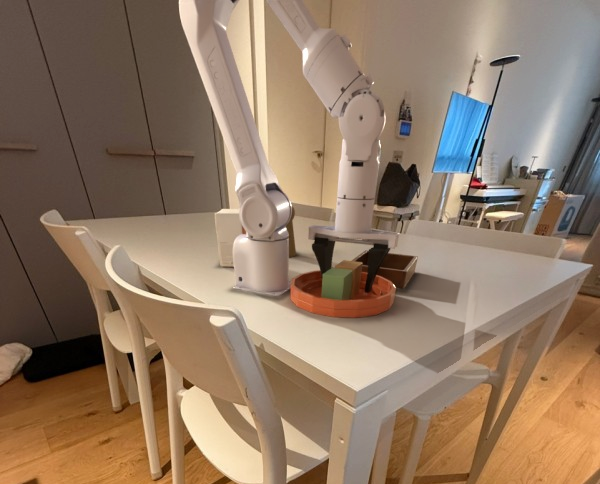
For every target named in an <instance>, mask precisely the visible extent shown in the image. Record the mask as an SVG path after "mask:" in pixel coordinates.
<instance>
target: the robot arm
mask: <svg viewBox="0 0 600 484" xmlns="http://www.w3.org/2000/svg"><path fill="white" fill-rule="evenodd" d="M239 2H240V0H178V8H179V18H180V21H181V27H182V29H183V32H184V35H185V37H186V40H187V43H188V46H189V48H190V51H191V54H192V56H193V59H194V62H195V64H196V68H197V70H198V73H199V76H200V79H201V81H202V83H203V87H204V89H205V93H206V94H207V97H208V101H209V103H210V106H211V109H212V112H213V113H214V117H215V119H216V122H217V125H218V128H219V130H220V133H221V136H222V138H223V141H224V144H225V147H226V149H227V152H228V155H229V158H230V159H231V163H232V166H233V169H234V171H235V174H236V182H235V183H236V184H235V194H236V198H237V200H238V206H239V207H238V209H239V217H240V221H241V224H242V226H243V228H244V229H245V231H246V234H242V235H239V236H238V237H237V238H236V239H235V242H234V245H233V263H234V267H233V275H234V283H235V286H233V289H234V290H235V289H236V290H240V291H246V292H252V293H258V294H262V295H263V294H264V295H268V296H274V297H280V296H282V295H283V294H285V293H286V292H288V291H289V290H291V281H290V257H289V233H288V231H287V229H286V225H287V224H288V222H289V221H290V218H291V215H292V206H293V205H292V203H291V202H292V201H291V200H290V198H289V196H288V195H287V194H286V193H285V192H284V191H283V189H282V187H281V184H280V183H279V180H278V177H277V175H276V173H275V172H274V171H273V169H272V167H271V166H270V164H269V161H268V159H267V156H266V153H265V149H264V147H263V143H262V140H261V137H260V134H259V131H258V127H257V124H256V121H255V118H254V115H253V112H252V108H251V106H250V102H249V100H248V96H247V93H246V90H245V87H244V84H243V80H242V77H241V74H240V72H239V68H238V65H237V62H236V59H235V56H234V52H233V49H232V46H231V44H230V43H231V42H230V40H229V37H228V34H227V28H228V24H229V21H230V19H231V16H232V13H233V11H234V10H235V8H236V6H237V5H238V3H239ZM265 2H266V4H267V5H268V6H269V7H270V9H271V10H272V12H273V13H274V15H275V16H276V17H277V19H278V20H279V22H280V23H281V24H282V26H283V27H284V29H286V31H287V33H288V35H289V36H290V37H291V38H292V40H293V41H294V43H295V44H296V45H297V47H298V48H299V50H300V51H301V53H302V76H303V77H304V78H305V80H306V81H307V82H308V84H309V85H310V87H311V88H312V89H313V91H314V93H315V94H316V95H317V97H318V99H319V100H320V102H321V103H322V104H323V106H324V107H325V109H326V110H327V112H328V113H329V114H330V116H331V118H333V119H338V127H339V132H340V134H341V136H342V138H343V139H342V141H341V142H342V143H341V155H340V160H339V165H338V180H337V182H338V183H337V194H336V206H335V208H336V209H335V221H334V222H335V223H334V225H316V224H315V225H314V224H313V225H311V226H308V235H307V236H308V237H307V238H308V240H309V241H313V243H311V250H312V252H313V254H314V256H315V258H316V261H317V264H318V267H319V270H320V271H321V276H322V279H323V274H324V273H325V272H327V271H328V270H330V269H331V268H333V267H332V266H333V265H332V263H333V257H334V251H335V245H336V242H338V243H345V244H355V245H365V246H372V247H370V248H369V249H368V251H369V252H368V273H367V279H366V284H365V292H366V293H369V292H370V291H371V290H372V286H373V283H374V280H375V277H376V275H377V272H378V270H379V268H380V266H381V264H382V262H383V261H384V259H385V257H386V256H387V254H388V253H390V251H391V249H396V248H397V247H398V243H399V237H400V233H399V232H391V231H385V230H378V229H373V228H372V224H373V223H372V222H373V215H374V207H375V200H376V193H377V184H378V178H379V177H378V176H379V168H380V160H379V156H380V154H381V145H382V144H381V140H380V137H381V135H382V134H383V131H384V129H385V124H386V111H385V106H384V103H383V100H382V99H381V97H380V96H379V94H377V92H375V91H373V90H370V89H371V88H372V86H373V85H374V83H375V81H374V79H373V77H372V76H371V74H368V75H367V76H366V74H365V73H364V71H363V70H362V68H361V66H360V65H359V64H358V62H357V60H356V59H355V57H354V55H353V54H352V52H351V50H350V49H351V48H352V46H353V45H352V42H351V40H350V38H349V36H348V35H347V33H346V32H344V33H343V34H342V35H340V33H339V31H338V30H337V29H336V28H324V27H323V28H322V27H320V26H319V24H318V23H317V21H316V19H315V18H314V16H313V15H312V13H311V11H310V10H309V7H308V6H307V5H306V3H305V1H304V0H265Z"/></svg>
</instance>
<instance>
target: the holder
mask: <svg viewBox="0 0 600 484" xmlns="http://www.w3.org/2000/svg"><path fill="white" fill-rule="evenodd" d="M368 252H369V250H366V249H365V250H363V251H362V252H361V253H360V254H359V255H357V256H355V257H354V258H353V259H351V260H350V261H355V262H362V263H363V264H362V272H367V273H368ZM418 258H419V256H418V255H409V254H402V253H392V252H388V254H387V256H386V257H385V259H384V261H383V262H382V264H381V266H380V268H379V270H378V272H377V275H378V276H381V277H383V278H385V279H387V280H389V281H391V282H392V283H393V284H394V286H395V288H396V289H398V290H399V289H400V290H404V289H405V287H406V286H407V285H408V283H409V281H410V280H411V278H412V277H413V275H414V274H415V272H416V267H417V263H418Z"/></svg>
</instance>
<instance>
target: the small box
mask: <svg viewBox="0 0 600 484" xmlns="http://www.w3.org/2000/svg"><path fill="white" fill-rule="evenodd" d="M214 222H215V223H214V224H215V232H216V240H217V248H218V249H217V250H218V256H219V264H220V267H230V268H231V267H232V268H234V263H233V245H234V242H235V239H236V238H237V237H238V236H239V235H242V234H246V231H245V229H244V228H243V226H242V224H241V221H240V217H239V208H221V210H219V211H217V212H214Z"/></svg>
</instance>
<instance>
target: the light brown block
mask: <svg viewBox="0 0 600 484" xmlns="http://www.w3.org/2000/svg"><path fill="white" fill-rule="evenodd" d="M362 264H363V263H362V262H355V261H351V260H346V259H343V260H341V261H339V263H337V264H335V265H334V268H341V269H348V270H353V276H352V285H351V294H350V298H351V299H352V298H353V297H354V296H355V295H356V294H357V293H358V292H359V289H360V280H361V272H362Z"/></svg>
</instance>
